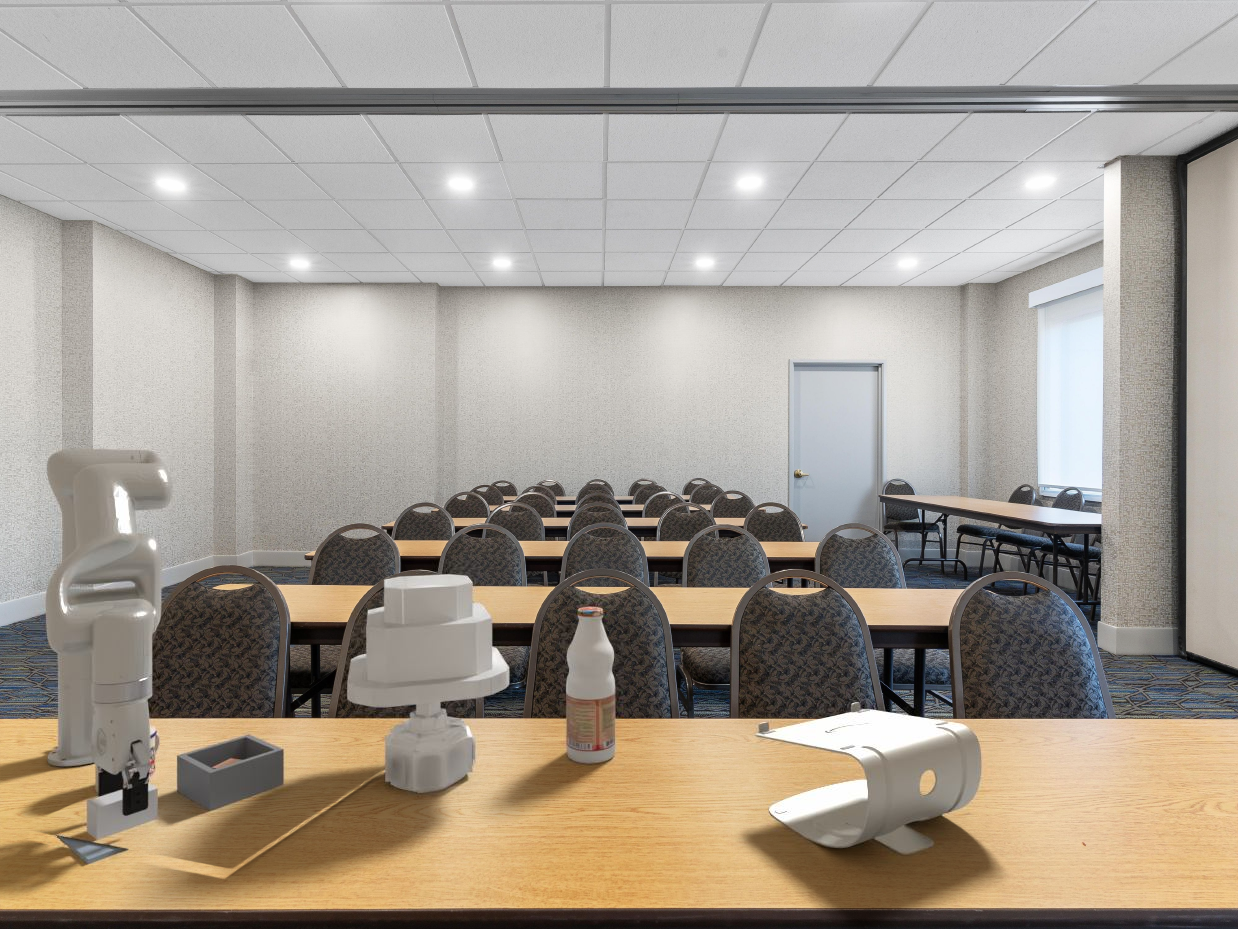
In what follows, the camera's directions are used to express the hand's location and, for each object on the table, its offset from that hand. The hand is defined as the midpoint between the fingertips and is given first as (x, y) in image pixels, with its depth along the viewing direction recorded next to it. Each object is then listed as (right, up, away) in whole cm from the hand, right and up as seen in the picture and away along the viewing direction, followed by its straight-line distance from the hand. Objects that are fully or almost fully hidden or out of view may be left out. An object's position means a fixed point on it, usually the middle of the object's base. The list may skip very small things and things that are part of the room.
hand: (122, 803), depth 110 cm
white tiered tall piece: (+41, -4, +19) cm, 46 cm away
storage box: (+10, -4, +13) cm, 17 cm away
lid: (0, -5, 0) cm, 5 cm away
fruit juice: (+70, -4, +29) cm, 76 cm away
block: (+10, -3, +13) cm, 16 cm away
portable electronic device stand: (+114, -4, +3) cm, 114 cm away
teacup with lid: (-10, -5, +18) cm, 21 cm away
